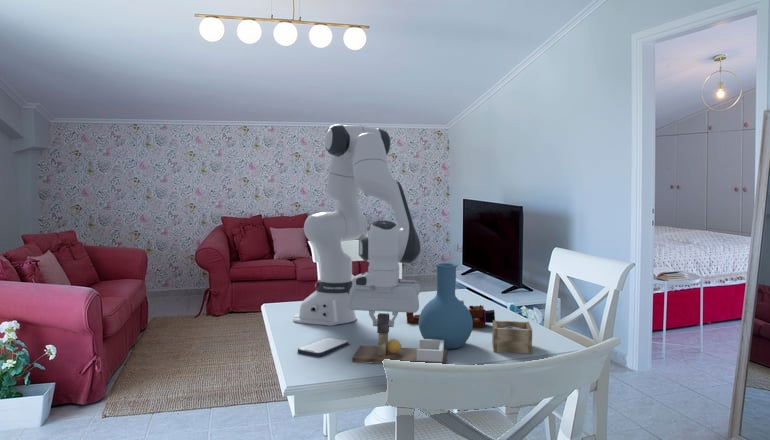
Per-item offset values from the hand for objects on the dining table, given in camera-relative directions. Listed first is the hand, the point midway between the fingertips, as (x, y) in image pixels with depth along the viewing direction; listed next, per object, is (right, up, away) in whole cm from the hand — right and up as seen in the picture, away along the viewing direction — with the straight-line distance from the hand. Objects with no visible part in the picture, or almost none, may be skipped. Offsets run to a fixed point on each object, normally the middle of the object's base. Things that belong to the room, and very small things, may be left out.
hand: (383, 326), depth 167 cm
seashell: (+39, -8, +10) cm, 41 cm away
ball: (+3, -6, 0) cm, 6 cm away
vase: (+19, -8, +13) cm, 25 cm away
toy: (+24, -7, +39) cm, 46 cm away
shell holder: (+39, -8, +10) cm, 41 cm away
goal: (+13, -8, -1) cm, 15 cm away
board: (+5, -9, 0) cm, 10 cm away
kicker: (0, -8, +1) cm, 8 cm away
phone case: (-18, -9, +9) cm, 22 cm away
